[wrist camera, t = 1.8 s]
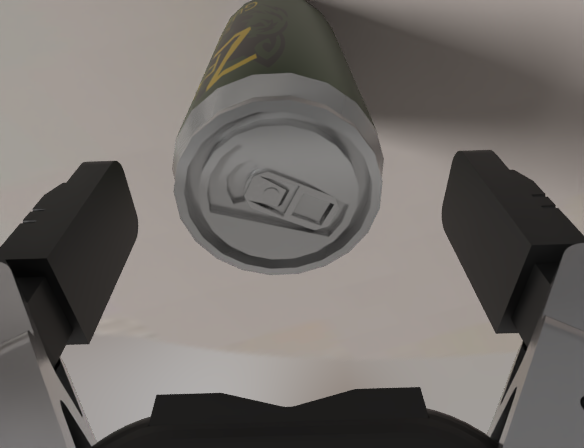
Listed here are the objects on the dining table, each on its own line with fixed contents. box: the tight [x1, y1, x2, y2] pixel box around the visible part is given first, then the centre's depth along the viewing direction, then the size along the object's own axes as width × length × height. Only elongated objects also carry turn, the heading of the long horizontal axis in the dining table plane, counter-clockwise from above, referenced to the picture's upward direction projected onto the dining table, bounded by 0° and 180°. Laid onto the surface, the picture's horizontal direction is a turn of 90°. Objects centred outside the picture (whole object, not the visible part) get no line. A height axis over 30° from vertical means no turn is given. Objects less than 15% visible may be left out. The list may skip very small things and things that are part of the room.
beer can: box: [172, 0, 384, 275], centre depth 15 cm, size 5×5×12 cm
